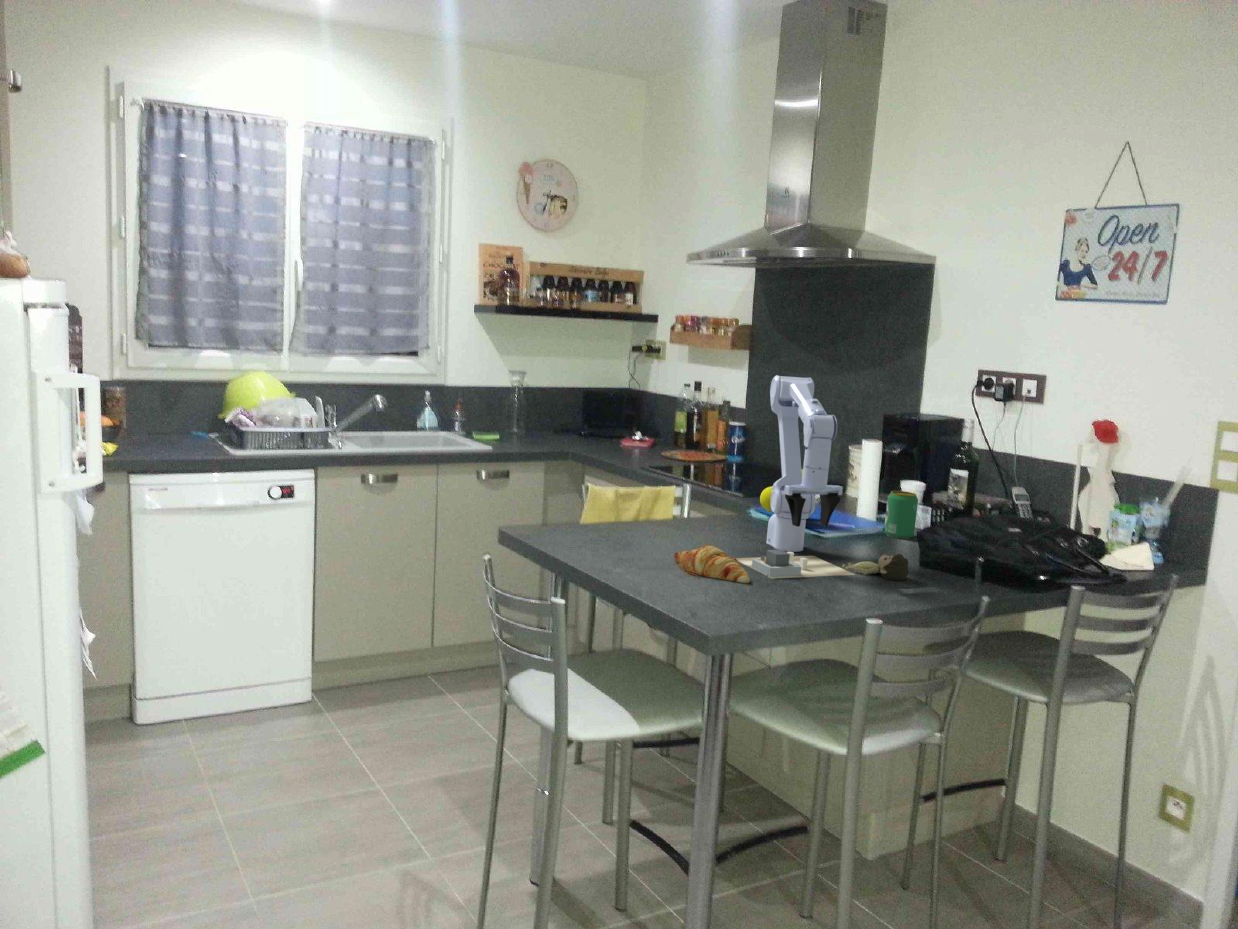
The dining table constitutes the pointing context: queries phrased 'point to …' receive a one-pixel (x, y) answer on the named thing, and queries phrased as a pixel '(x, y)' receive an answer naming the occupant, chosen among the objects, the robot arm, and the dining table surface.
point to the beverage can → (901, 514)
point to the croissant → (711, 564)
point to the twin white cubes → (802, 561)
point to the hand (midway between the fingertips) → (809, 525)
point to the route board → (814, 567)
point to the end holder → (776, 569)
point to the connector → (776, 558)
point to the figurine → (884, 567)
